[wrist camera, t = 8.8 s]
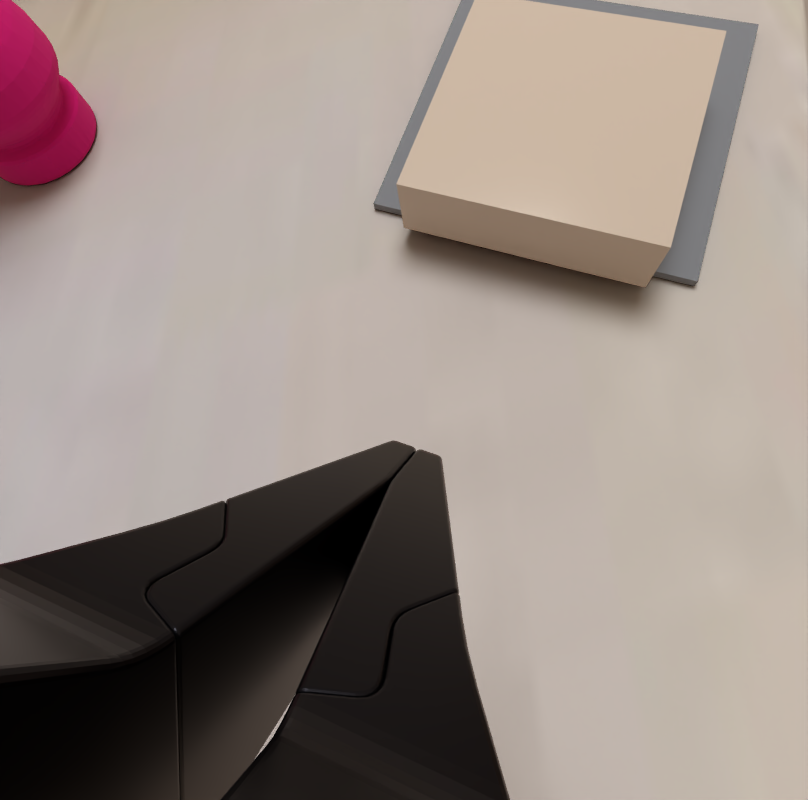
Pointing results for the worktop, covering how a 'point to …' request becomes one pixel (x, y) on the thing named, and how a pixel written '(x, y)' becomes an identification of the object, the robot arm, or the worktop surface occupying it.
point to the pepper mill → (37, 106)
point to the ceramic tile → (563, 136)
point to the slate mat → (710, 149)
